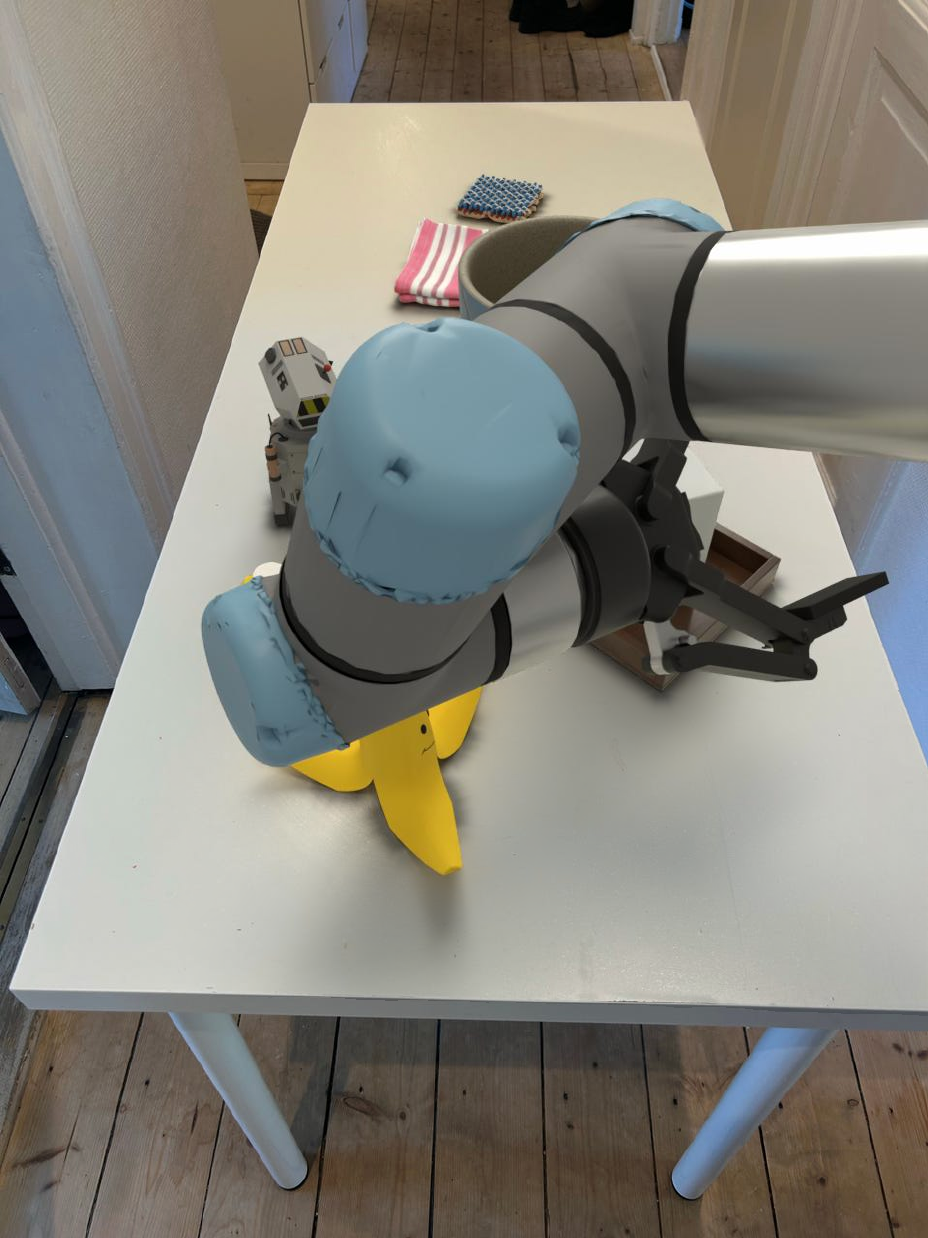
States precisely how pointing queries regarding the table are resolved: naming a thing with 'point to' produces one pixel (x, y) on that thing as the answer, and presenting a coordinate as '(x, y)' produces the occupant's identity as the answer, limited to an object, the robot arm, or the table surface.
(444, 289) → the dish towel
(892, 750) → the table surface
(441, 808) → the banana peel
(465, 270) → the planter
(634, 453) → the small box
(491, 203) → the woven mat
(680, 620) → the wooden tray
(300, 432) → the figurine
